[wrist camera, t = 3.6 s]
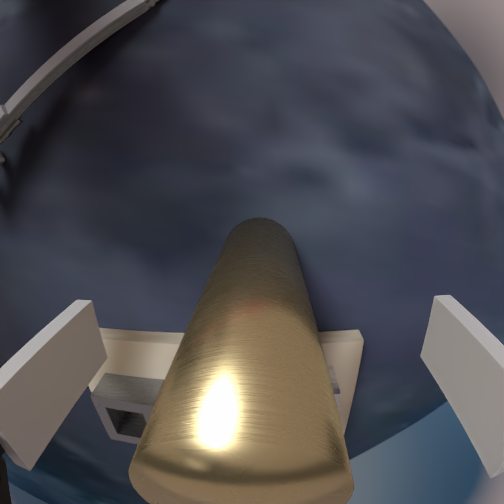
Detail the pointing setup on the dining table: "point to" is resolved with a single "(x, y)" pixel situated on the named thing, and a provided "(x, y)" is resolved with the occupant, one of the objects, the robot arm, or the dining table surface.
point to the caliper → (66, 62)
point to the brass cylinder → (247, 391)
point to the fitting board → (157, 366)
